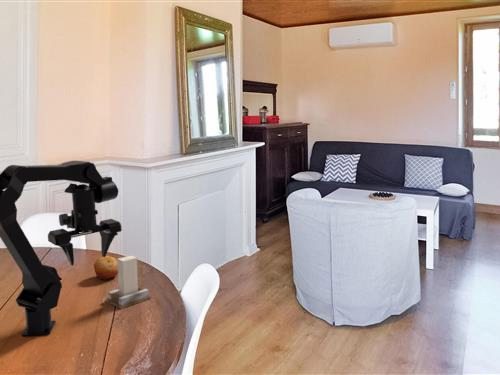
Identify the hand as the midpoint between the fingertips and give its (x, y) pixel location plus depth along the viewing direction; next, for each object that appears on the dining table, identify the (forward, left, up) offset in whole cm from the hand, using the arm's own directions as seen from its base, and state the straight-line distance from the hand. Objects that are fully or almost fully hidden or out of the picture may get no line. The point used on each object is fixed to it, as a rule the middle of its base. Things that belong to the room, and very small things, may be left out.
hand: (88, 260), depth 122 cm
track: (+2, -10, -13) cm, 17 cm away
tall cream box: (+2, -10, -13) cm, 16 cm away
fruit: (+21, -2, -13) cm, 25 cm away
